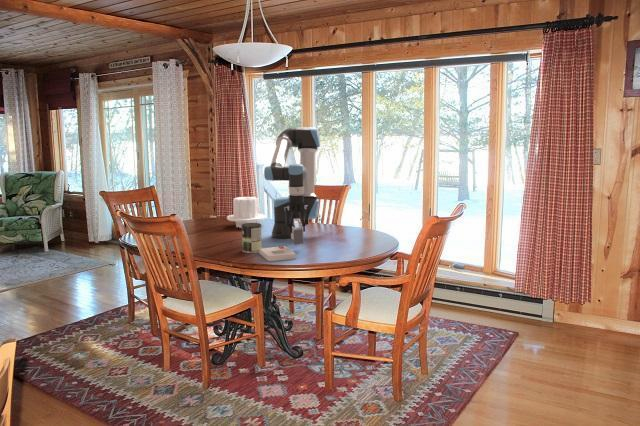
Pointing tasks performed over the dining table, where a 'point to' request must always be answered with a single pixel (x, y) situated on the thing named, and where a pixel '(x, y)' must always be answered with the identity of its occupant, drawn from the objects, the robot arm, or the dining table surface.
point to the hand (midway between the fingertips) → (297, 238)
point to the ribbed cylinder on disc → (245, 211)
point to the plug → (298, 236)
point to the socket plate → (277, 253)
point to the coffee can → (251, 237)
